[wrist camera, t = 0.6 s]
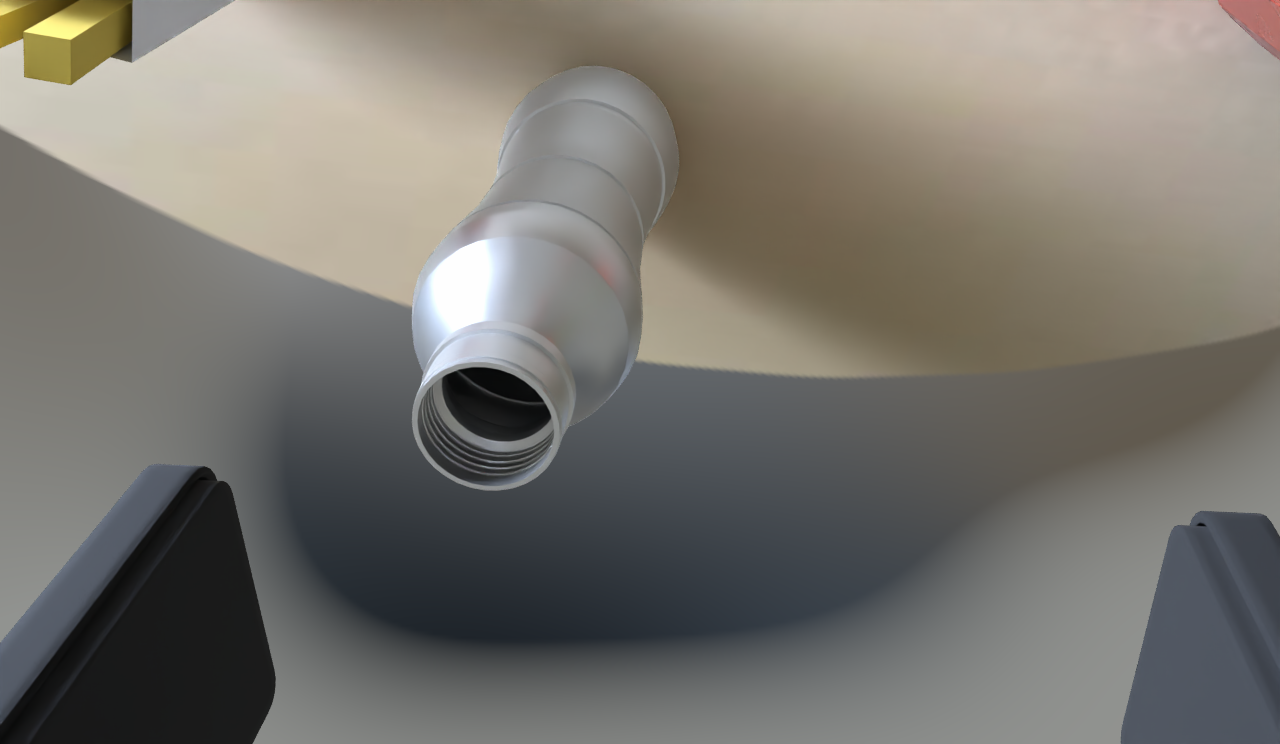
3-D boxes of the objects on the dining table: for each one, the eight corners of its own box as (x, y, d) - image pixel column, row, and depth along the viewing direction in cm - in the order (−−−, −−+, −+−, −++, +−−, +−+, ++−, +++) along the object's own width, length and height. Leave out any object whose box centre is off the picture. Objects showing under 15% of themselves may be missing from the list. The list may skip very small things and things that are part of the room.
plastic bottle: (715, 99, 44) (672, 377, 27) (635, 246, 47) (553, 577, 30) (557, 18, 43) (407, 252, 26) (488, 174, 46) (314, 473, 29)
